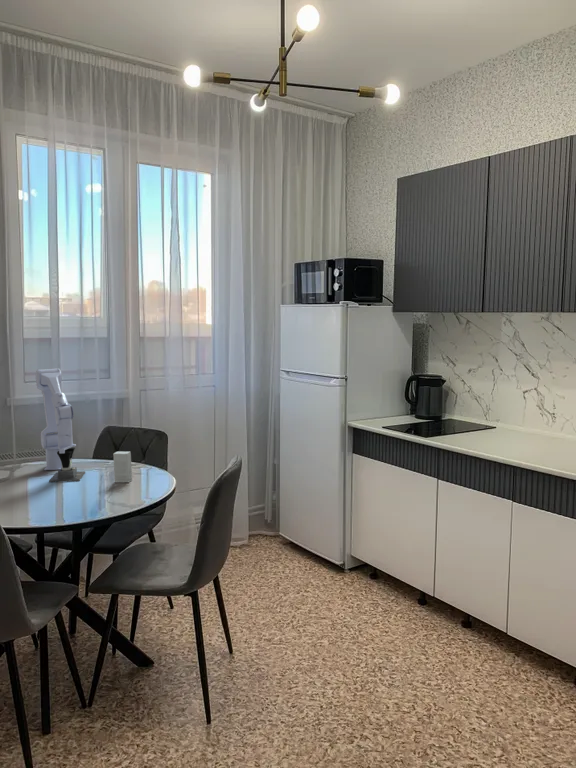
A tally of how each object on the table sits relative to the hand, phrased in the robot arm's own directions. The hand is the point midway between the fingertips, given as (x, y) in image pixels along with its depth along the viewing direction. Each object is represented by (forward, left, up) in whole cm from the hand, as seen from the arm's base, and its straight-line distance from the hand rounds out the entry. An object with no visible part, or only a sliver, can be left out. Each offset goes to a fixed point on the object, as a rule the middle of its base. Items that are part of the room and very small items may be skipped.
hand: (67, 466), depth 257 cm
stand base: (0, 0, -5) cm, 5 cm away
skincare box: (+9, +24, -5) cm, 26 cm away
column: (0, 0, -4) cm, 4 cm away
